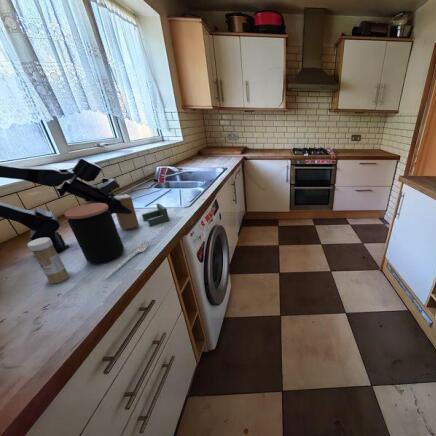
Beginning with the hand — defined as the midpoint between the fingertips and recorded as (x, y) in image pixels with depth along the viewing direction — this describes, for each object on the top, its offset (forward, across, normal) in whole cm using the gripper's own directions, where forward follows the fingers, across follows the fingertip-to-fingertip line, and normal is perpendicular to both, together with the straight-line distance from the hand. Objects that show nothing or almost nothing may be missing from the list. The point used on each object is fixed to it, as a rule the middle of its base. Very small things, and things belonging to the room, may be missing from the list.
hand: (129, 210), depth 95 cm
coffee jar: (-4, -18, +15) cm, 24 cm away
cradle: (+11, 0, 0) cm, 11 cm away
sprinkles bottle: (-12, -22, +24) cm, 35 cm away
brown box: (+4, 0, +6) cm, 7 cm away
